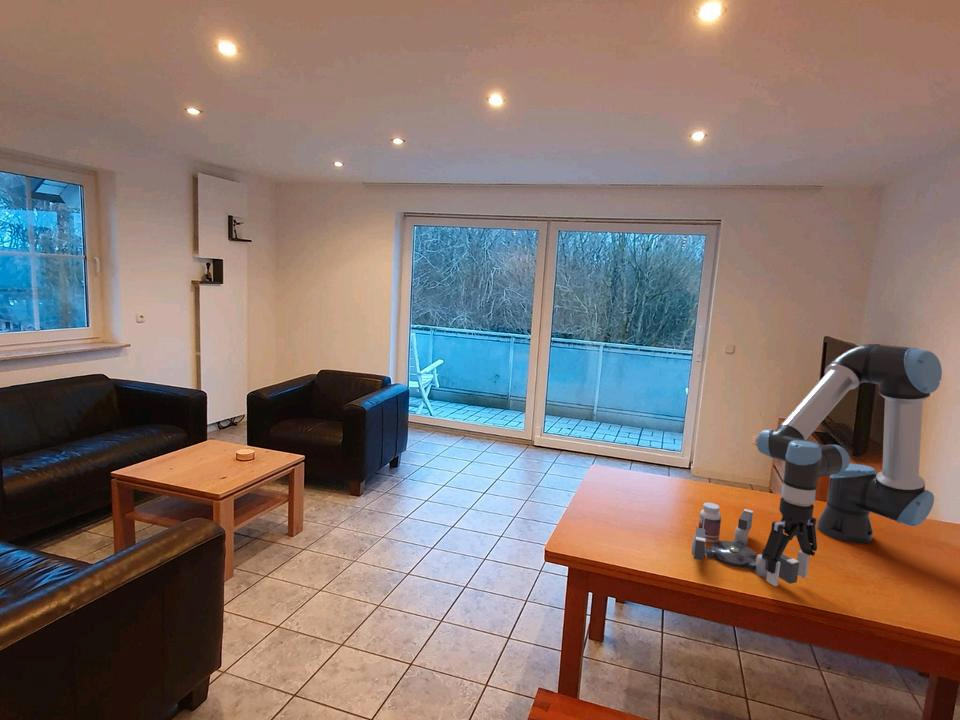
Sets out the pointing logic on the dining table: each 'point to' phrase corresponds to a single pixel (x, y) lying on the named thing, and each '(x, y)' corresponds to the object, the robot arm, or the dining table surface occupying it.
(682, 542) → the dining table surface
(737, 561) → the base
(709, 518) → the pill bottle
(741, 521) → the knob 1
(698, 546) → the dark bar with dome
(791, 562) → the grey bar white cap
